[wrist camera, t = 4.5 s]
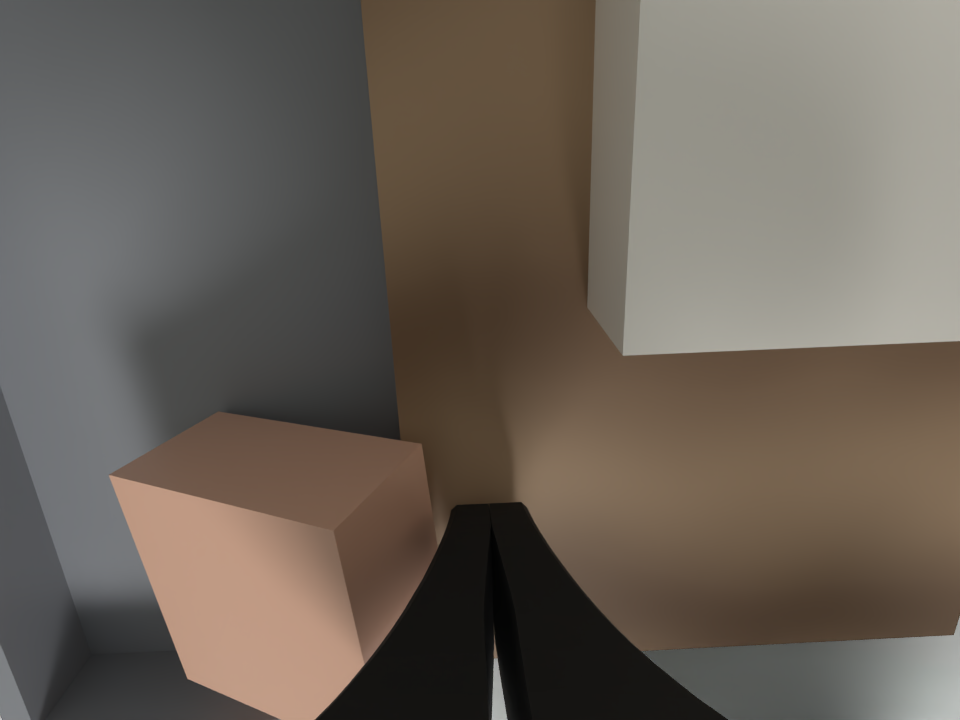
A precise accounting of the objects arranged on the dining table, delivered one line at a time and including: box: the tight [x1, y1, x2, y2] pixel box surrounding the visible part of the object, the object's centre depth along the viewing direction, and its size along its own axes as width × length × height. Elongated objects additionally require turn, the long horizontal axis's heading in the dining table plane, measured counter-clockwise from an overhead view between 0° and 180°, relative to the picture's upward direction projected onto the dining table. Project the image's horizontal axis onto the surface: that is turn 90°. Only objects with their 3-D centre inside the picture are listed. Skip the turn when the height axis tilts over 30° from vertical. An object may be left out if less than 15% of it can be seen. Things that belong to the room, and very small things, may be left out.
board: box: [361, 0, 960, 658], centre depth 12 cm, size 14×12×2 cm
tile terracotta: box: [109, 411, 438, 720], centre depth 12 cm, size 5×5×2 cm
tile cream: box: [587, 0, 960, 356], centre depth 9 cm, size 5×5×2 cm
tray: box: [0, 0, 401, 720], centre depth 12 cm, size 17×9×2 cm, turn 2°
